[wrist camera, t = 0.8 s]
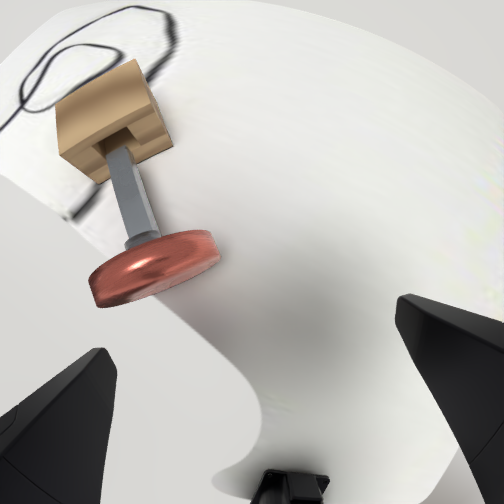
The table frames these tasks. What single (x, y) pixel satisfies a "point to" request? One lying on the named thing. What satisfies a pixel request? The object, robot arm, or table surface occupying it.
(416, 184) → the table surface
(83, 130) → the tan block
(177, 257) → the copper disc handle
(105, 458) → the robot arm
